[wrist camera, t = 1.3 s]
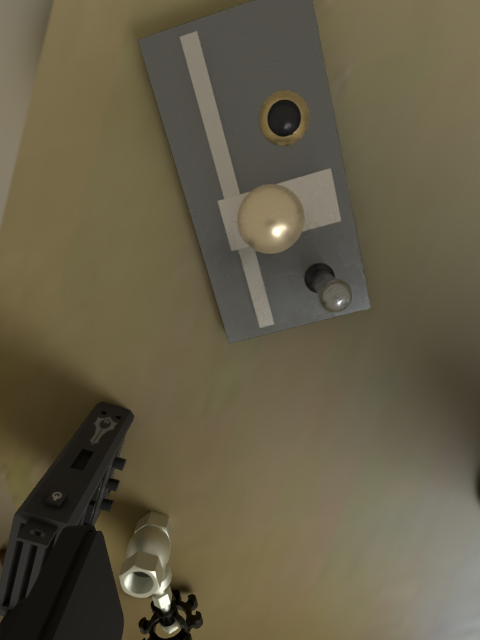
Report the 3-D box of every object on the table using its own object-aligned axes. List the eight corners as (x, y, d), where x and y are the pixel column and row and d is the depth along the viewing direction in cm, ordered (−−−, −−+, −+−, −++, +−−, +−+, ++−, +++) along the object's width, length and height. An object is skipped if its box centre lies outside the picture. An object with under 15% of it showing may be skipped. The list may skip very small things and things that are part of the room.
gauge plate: (305, -8, 28) (329, -96, 19) (365, 303, 34) (402, 336, 26) (143, 47, 29) (100, -14, 20) (230, 337, 35) (224, 380, 27)
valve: (120, 512, 41) (148, 599, 44) (96, 569, 35) (131, 665, 38) (182, 504, 40) (206, 592, 44) (170, 560, 34) (199, 658, 38)
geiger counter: (119, 497, 40) (47, 662, 26) (75, 484, 40) (-23, 644, 26) (145, 411, 37) (80, 542, 23) (98, 396, 37) (3, 520, 23)
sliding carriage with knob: (324, 170, 29) (357, 157, 20) (334, 219, 30) (370, 227, 21) (219, 200, 30) (207, 201, 21) (232, 247, 31) (225, 267, 22)
